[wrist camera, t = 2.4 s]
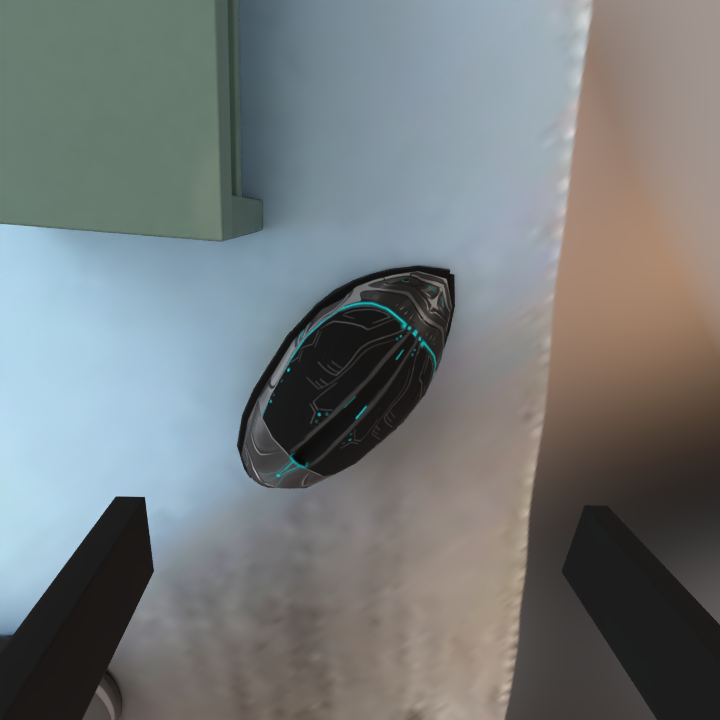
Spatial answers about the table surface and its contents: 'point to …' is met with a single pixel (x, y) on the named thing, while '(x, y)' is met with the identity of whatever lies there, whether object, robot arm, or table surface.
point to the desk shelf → (123, 118)
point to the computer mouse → (346, 376)
